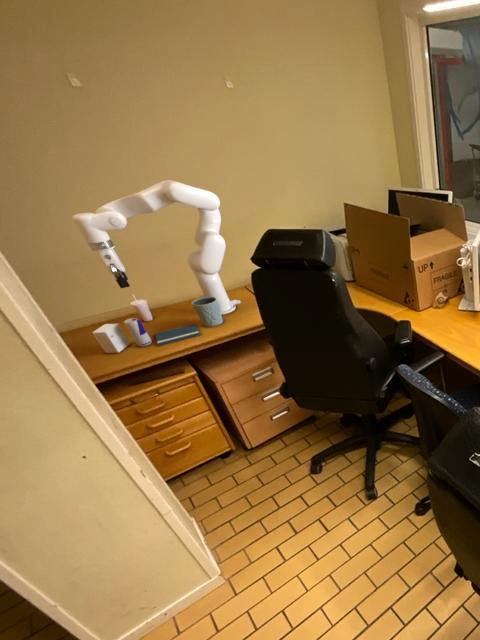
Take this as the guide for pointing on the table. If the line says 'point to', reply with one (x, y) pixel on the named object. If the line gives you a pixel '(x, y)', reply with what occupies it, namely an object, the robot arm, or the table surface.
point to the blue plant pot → (208, 311)
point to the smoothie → (142, 309)
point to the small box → (111, 338)
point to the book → (176, 334)
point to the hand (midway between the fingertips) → (124, 283)
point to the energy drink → (137, 331)
